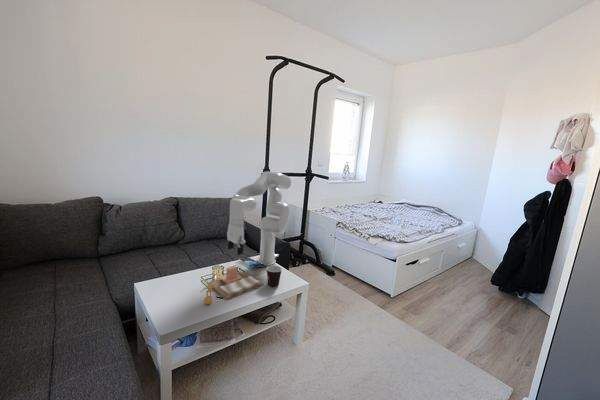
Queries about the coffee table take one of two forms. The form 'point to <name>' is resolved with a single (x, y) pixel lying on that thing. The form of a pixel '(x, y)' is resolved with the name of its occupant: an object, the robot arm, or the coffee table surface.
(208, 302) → the figurine
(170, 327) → the coffee table surface
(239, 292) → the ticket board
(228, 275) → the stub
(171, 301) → the coffee table surface
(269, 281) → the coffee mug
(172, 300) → the coffee table surface
